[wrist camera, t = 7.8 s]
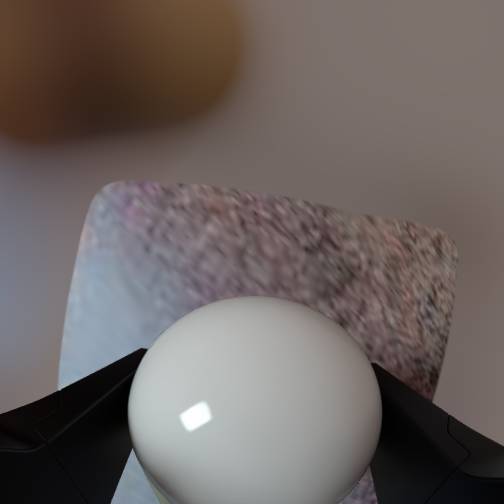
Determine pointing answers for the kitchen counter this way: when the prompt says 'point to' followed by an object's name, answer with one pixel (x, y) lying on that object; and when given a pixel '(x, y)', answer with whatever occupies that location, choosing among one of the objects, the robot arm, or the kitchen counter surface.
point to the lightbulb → (255, 406)
